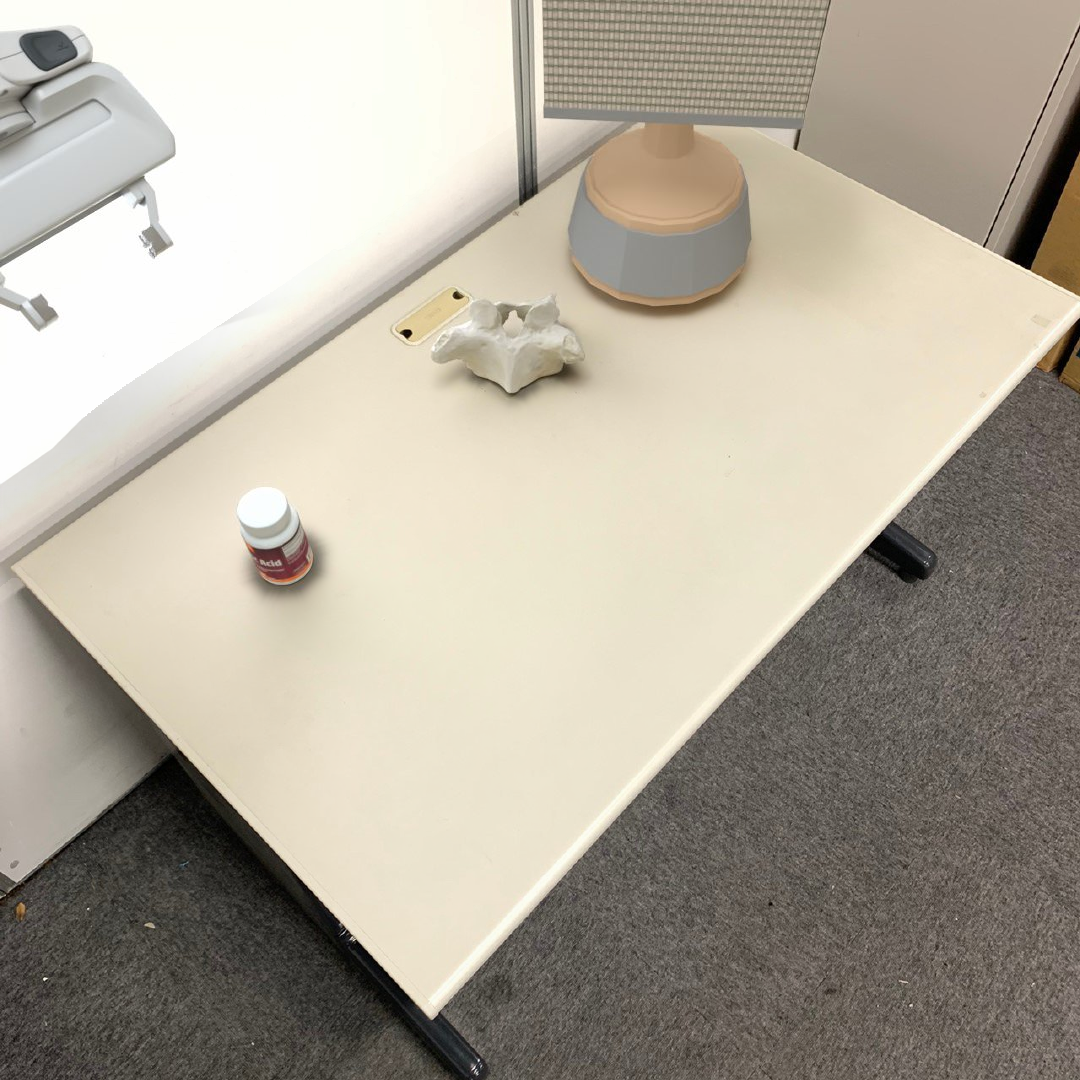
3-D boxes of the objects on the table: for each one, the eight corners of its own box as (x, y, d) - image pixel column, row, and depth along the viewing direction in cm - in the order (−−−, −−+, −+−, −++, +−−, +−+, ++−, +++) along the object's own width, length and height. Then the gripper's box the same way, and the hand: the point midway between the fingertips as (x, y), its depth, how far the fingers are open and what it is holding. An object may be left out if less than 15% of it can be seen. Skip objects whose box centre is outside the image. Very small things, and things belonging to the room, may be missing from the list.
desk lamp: (758, 205, 110) (831, -176, 80) (760, 327, 100) (846, -56, 69) (563, 195, 112) (562, -181, 82) (546, 315, 102) (537, -66, 71)
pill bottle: (247, 573, 85) (218, 517, 78) (280, 532, 88) (255, 474, 81) (292, 595, 84) (267, 540, 77) (325, 553, 86) (303, 495, 79)
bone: (580, 392, 97) (590, 342, 90) (440, 416, 95) (438, 367, 88) (558, 320, 101) (565, 266, 94) (422, 341, 99) (419, 288, 91)
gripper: (-200, 164, 57) (-26, 364, 62) (99, 15, 65) (234, 201, 70) (-188, 198, 63) (-28, 379, 67) (87, 56, 71) (213, 226, 75)
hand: (108, 287), depth 69 cm, fingers open, 8 cm apart
